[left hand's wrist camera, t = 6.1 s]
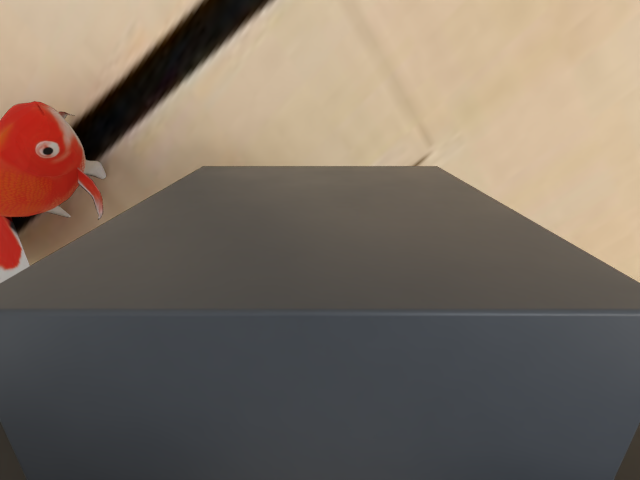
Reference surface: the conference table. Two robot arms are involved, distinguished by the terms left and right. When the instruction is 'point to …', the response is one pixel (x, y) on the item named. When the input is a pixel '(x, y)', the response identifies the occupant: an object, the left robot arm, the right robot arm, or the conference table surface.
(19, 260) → the fish
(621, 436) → the box
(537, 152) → the conference table surface
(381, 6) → the conference table surface
